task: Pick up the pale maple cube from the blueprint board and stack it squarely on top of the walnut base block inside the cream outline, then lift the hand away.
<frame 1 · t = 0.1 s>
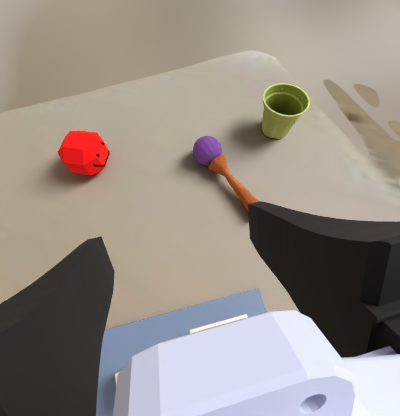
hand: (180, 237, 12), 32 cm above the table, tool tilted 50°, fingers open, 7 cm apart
ball: (92, 164, 52), on the table
plant pot: (273, 130, 57), on the table
blueprint board: (188, 365, 36), on the table
kendama: (226, 182, 51), on the table
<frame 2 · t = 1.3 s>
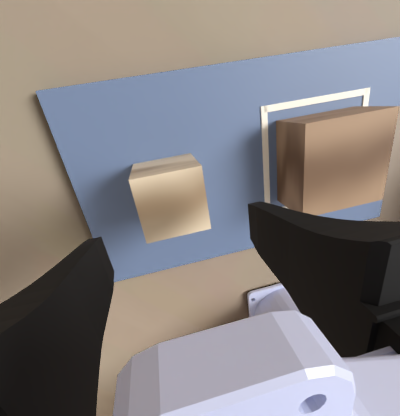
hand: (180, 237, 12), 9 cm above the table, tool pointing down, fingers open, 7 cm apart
walnut base: (313, 155, 21), point 1 cm above the table, touching blueprint board
blueprint board: (245, 166, 21), on the table
maple cube: (168, 185, 19), point 1 cm above the table, touching blueprint board
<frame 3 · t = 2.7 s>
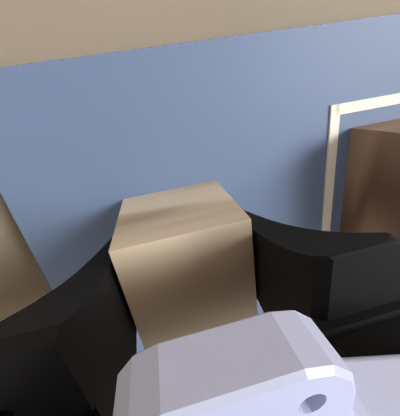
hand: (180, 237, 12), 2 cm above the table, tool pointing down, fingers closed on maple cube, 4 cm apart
walnut base: (397, 179, 14), point 1 cm above the table, touching blueprint board
blueprint board: (295, 196, 14), on the table
maple cube: (179, 229, 12), point 1 cm above the table, touching blueprint board, gripper
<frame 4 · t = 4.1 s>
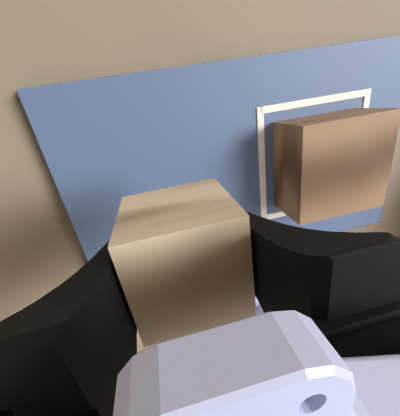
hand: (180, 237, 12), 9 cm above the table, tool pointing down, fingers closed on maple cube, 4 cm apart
walnut base: (312, 159, 20), point 1 cm above the table, touching blueprint board
blueprint board: (241, 170, 20), on the table
maple cube: (178, 227, 12), point 8 cm above the table, touching gripper
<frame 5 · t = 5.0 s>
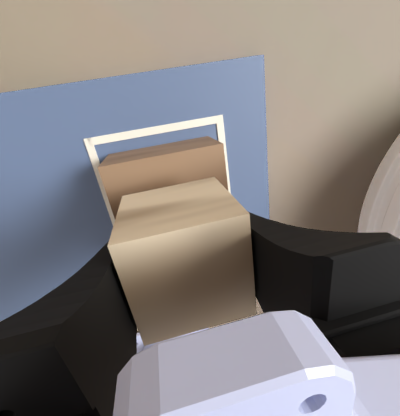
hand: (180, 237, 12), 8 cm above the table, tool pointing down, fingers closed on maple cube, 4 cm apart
walnut base: (169, 191, 18), point 1 cm above the table, touching blueprint board
blueprint board: (91, 203, 18), on the table
maple cube: (178, 226, 12), point 7 cm above the table, touching gripper
when the fingers open (7 cm above the table, at t = 5.7 s): maple cube drops 1 cm, resting on walnut base.
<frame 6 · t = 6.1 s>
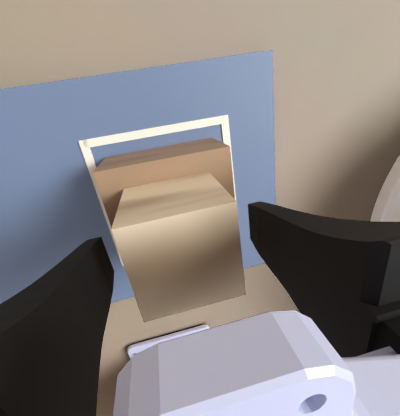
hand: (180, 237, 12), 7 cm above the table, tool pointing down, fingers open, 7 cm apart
walnut base: (170, 196, 17), point 1 cm above the table, touching blueprint board, maple cube
blueprint board: (87, 209, 17), on the table
maple cube: (175, 218, 13), point 5 cm above the table, touching walnut base
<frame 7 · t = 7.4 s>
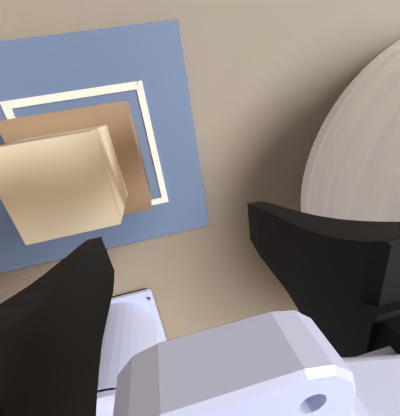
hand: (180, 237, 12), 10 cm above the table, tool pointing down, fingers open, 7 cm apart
walnut base: (95, 158, 19), point 1 cm above the table, touching blueprint board, maple cube
blueprint board: (18, 170, 19), on the table
maple cube: (81, 168, 15), point 5 cm above the table, touching walnut base
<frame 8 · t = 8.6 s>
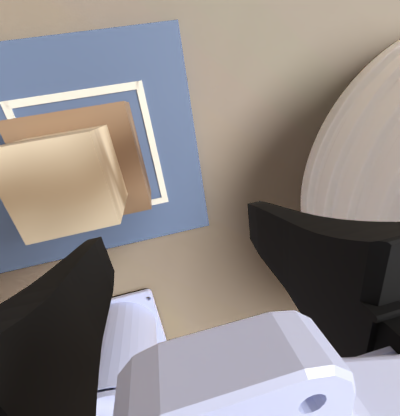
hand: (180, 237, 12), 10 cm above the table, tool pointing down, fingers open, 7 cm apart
walnut base: (95, 158, 19), point 1 cm above the table, touching blueprint board, maple cube
blueprint board: (18, 170, 19), on the table
maple cube: (81, 168, 15), point 5 cm above the table, touching walnut base
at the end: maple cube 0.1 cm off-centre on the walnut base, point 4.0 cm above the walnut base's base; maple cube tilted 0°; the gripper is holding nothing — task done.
